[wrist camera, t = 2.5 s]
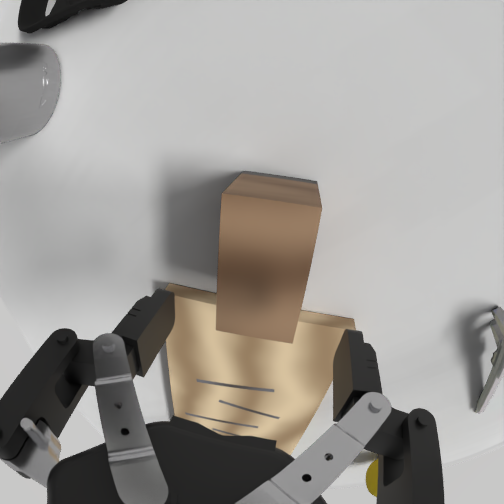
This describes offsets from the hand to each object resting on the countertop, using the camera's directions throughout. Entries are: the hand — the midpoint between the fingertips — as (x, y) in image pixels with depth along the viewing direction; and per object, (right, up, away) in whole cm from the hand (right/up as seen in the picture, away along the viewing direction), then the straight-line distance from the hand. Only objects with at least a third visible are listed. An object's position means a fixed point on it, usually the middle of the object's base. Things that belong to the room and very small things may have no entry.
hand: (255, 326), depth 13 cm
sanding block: (+1, +5, +9) cm, 10 cm away
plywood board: (-1, -13, +18) cm, 22 cm away
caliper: (+27, -10, +12) cm, 31 cm away
